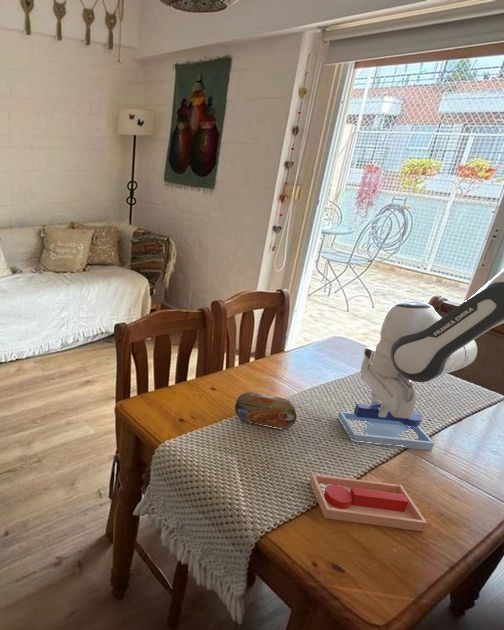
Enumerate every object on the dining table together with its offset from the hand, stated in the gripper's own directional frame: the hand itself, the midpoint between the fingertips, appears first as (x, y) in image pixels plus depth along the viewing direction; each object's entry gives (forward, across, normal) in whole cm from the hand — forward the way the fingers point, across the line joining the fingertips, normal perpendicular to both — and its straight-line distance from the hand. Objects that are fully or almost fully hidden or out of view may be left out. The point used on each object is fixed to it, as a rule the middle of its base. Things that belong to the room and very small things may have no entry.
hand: (377, 411), depth 112 cm
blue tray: (+6, 0, -3) cm, 7 cm away
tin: (+7, -1, +27) cm, 28 cm away
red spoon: (+6, -27, +13) cm, 31 cm away
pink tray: (+6, -27, +12) cm, 30 cm away
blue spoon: (+2, 0, -3) cm, 3 cm away
